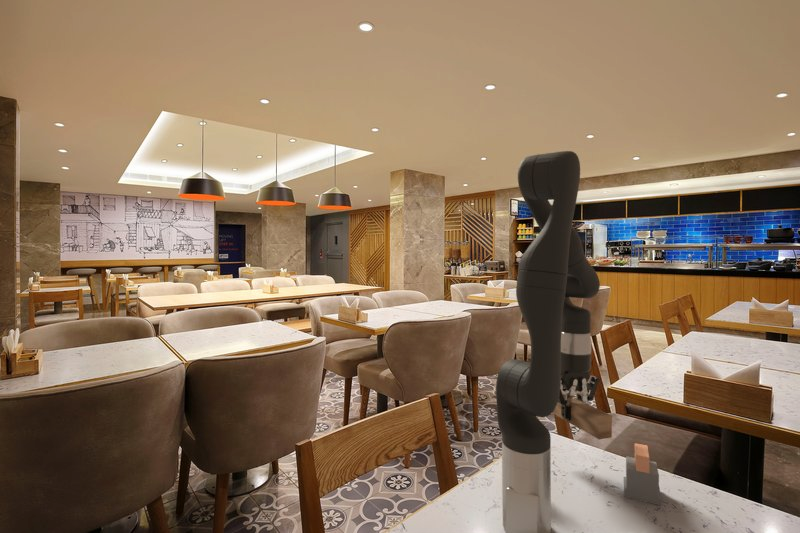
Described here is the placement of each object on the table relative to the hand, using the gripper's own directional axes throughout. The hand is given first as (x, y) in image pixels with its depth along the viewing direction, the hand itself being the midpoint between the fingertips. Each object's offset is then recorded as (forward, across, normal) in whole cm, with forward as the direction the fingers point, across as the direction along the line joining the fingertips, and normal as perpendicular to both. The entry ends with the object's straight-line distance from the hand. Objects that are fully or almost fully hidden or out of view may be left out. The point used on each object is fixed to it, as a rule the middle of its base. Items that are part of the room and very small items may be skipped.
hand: (573, 418), depth 99 cm
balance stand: (+13, +8, -12) cm, 20 cm away
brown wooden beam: (+1, 0, 0) cm, 1 cm away
